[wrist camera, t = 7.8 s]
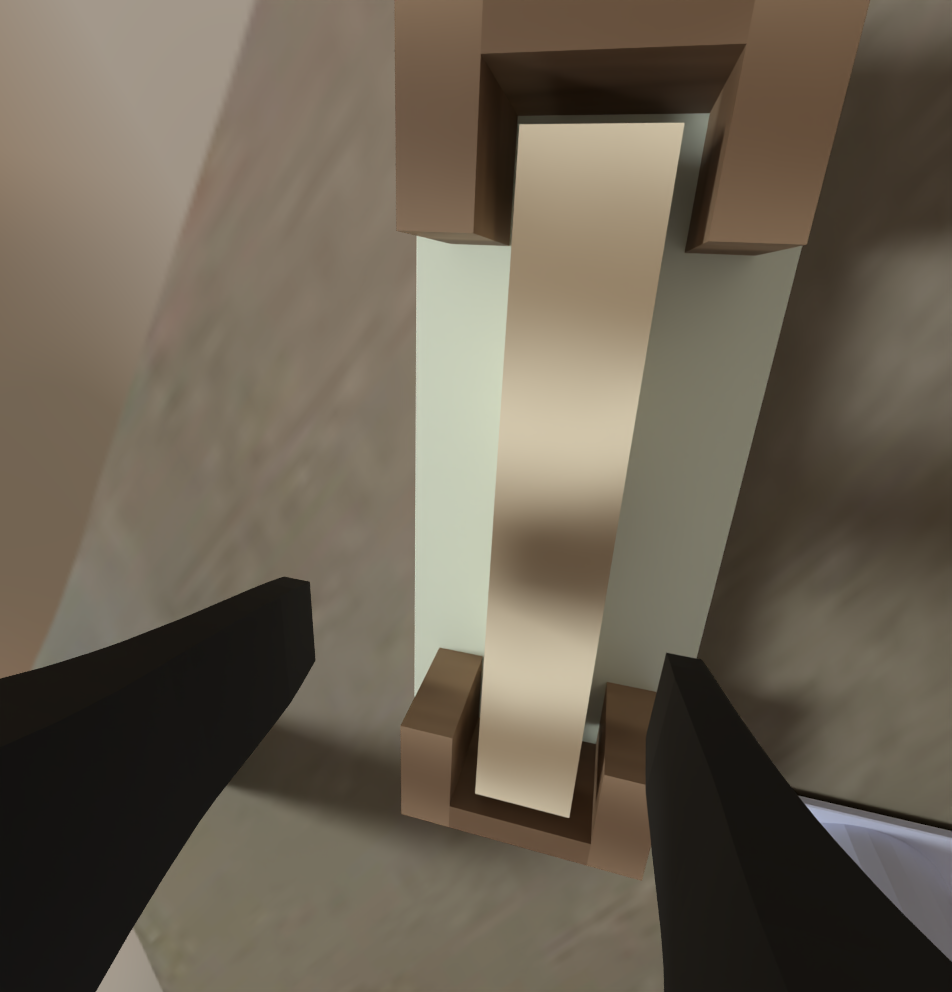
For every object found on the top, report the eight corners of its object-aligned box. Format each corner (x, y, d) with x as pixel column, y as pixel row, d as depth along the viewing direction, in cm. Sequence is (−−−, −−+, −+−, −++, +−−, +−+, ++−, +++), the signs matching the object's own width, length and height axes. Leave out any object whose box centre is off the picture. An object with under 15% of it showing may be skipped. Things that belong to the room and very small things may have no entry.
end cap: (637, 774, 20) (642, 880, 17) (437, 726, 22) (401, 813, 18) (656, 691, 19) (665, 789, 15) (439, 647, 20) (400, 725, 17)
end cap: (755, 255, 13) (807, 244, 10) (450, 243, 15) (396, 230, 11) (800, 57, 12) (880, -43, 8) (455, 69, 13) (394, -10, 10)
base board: (663, 759, 21) (665, 780, 20) (422, 703, 23) (414, 721, 22) (834, 73, 12) (850, 56, 12) (430, 83, 15) (417, 70, 14)
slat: (578, 721, 20) (569, 817, 16) (500, 704, 21) (475, 793, 17) (666, 167, 13) (685, 122, 9) (545, 166, 14) (519, 124, 10)
